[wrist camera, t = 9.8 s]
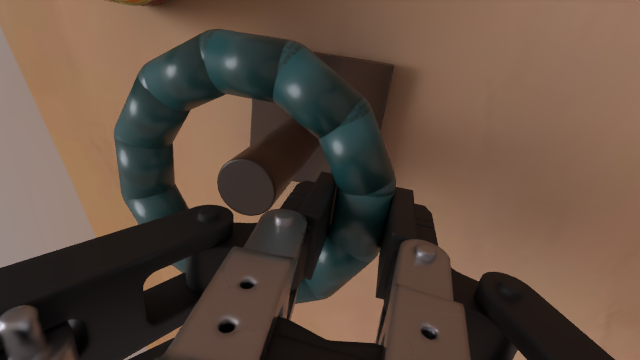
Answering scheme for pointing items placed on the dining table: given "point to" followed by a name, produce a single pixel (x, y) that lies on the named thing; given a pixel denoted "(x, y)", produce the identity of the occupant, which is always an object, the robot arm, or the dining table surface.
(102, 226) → the dining table surface
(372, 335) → the dining table surface
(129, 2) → the sauce bottle
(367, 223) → the ring
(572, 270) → the dining table surface
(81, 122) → the dining table surface
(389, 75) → the peg stand
